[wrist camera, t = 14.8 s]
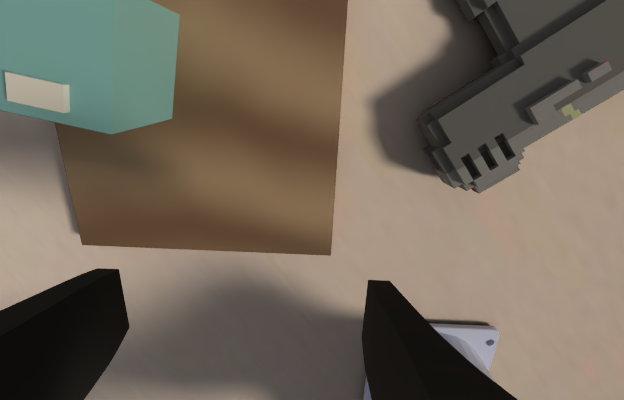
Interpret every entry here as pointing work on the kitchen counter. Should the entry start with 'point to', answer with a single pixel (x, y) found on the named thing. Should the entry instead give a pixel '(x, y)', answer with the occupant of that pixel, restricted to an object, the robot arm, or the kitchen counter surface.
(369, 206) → the kitchen counter surface
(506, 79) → the toy gun
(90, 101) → the teal cube
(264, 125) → the board
